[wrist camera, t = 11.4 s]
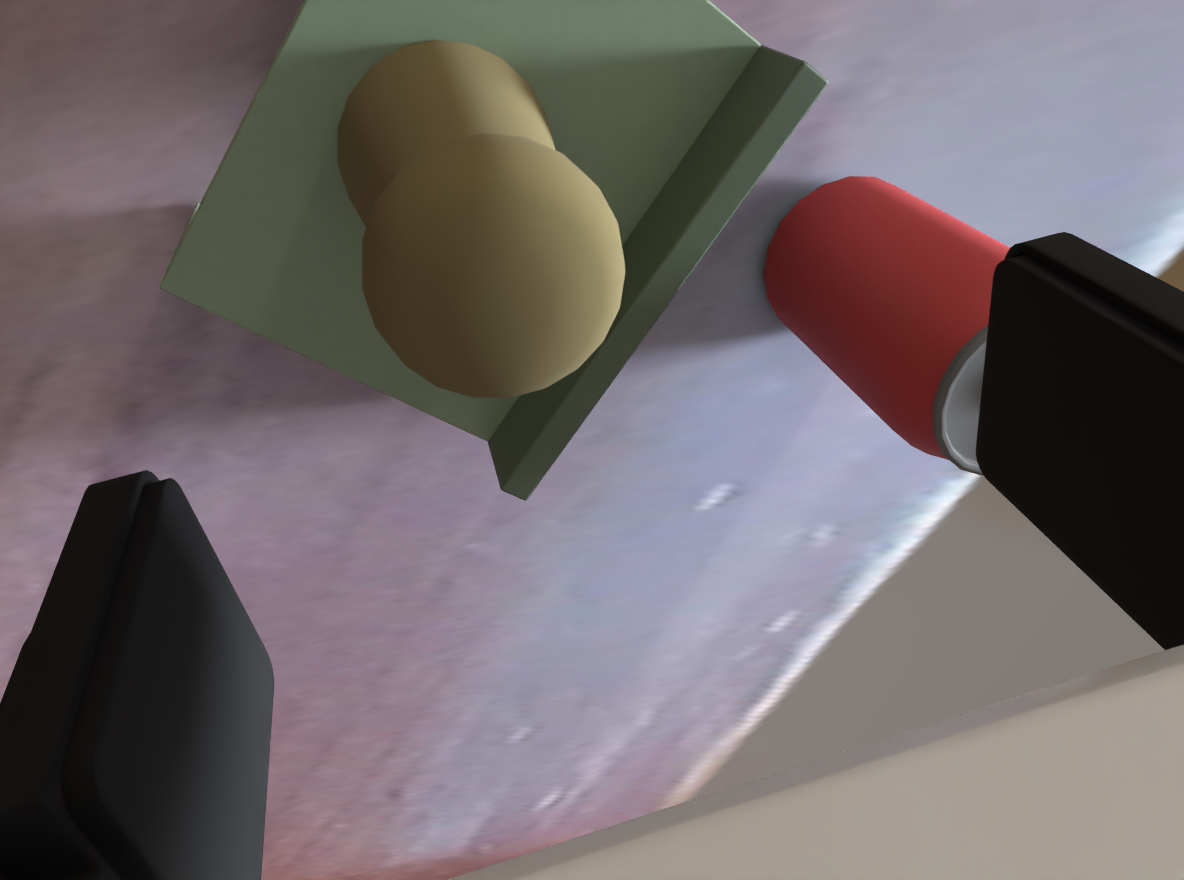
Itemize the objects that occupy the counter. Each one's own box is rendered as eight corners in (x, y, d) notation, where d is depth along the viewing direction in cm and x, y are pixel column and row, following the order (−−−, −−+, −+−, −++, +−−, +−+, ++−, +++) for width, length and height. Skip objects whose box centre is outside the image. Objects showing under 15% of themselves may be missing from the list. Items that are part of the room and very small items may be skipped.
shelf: (182, 233, 30) (139, 332, 23) (410, -219, 25) (438, -255, 19) (490, 386, 36) (526, 502, 29) (724, 39, 31) (830, 82, 24)
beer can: (938, 254, 37) (1158, 390, 27) (811, 361, 39) (978, 527, 29) (862, 133, 34) (1083, 238, 24) (725, 254, 35) (881, 402, 25)
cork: (321, 234, 26) (314, 423, 17) (356, 10, 24) (370, 93, 14) (522, 274, 28) (613, 462, 19) (575, 73, 26) (710, 180, 16)
